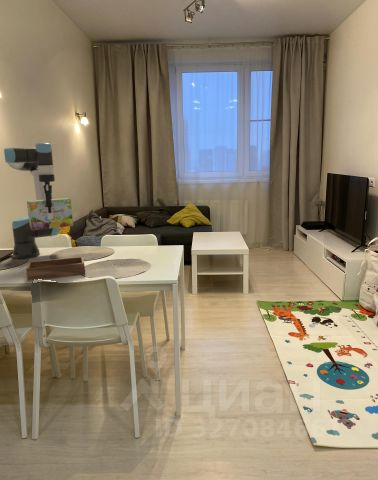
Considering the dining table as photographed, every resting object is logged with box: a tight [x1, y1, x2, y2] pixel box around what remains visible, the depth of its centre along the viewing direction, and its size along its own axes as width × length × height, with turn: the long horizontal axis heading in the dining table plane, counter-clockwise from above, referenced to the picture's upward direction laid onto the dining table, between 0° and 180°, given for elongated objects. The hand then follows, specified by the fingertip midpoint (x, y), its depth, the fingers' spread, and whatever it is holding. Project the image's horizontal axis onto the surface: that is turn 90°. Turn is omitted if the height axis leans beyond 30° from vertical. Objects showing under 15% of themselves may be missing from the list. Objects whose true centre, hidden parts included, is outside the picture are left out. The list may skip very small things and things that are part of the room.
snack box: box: [26, 197, 74, 230], centre depth 193 cm, size 21×6×15 cm, turn 125°
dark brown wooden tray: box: [25, 256, 86, 282], centre depth 187 cm, size 14×27×6 cm, turn 108°
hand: (50, 218), depth 193 cm, fingers closed on snack box, 7 cm apart
